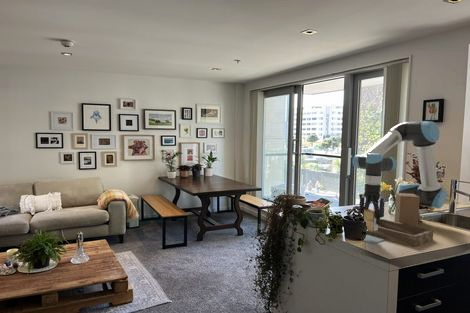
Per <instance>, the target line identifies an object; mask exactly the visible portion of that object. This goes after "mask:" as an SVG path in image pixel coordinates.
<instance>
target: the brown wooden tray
mask: <svg viewBox="0 0 470 313" xmlns="http://www.w3.org/2000/svg"><path fill="white" fill-rule="evenodd" d="M366 235H370V236H373V237H377V238H381V239H384V240H385V239H386V240H389V241H392V242H397V243H400V244H404V245H407V246H410V247H414V248H416V247H419V246H421V245H424V244H425V243H428V242H429V243H430V242H432V241H433V240H434V230H431V229H427V228H423V227H420V226H418V227H415V226H411V225H407V224H402V223H398V222H395V220H394V221H393V220H389V219H385V218H380V224H378V230H376V231H369V230H368V231H367V233H366Z"/></svg>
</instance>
